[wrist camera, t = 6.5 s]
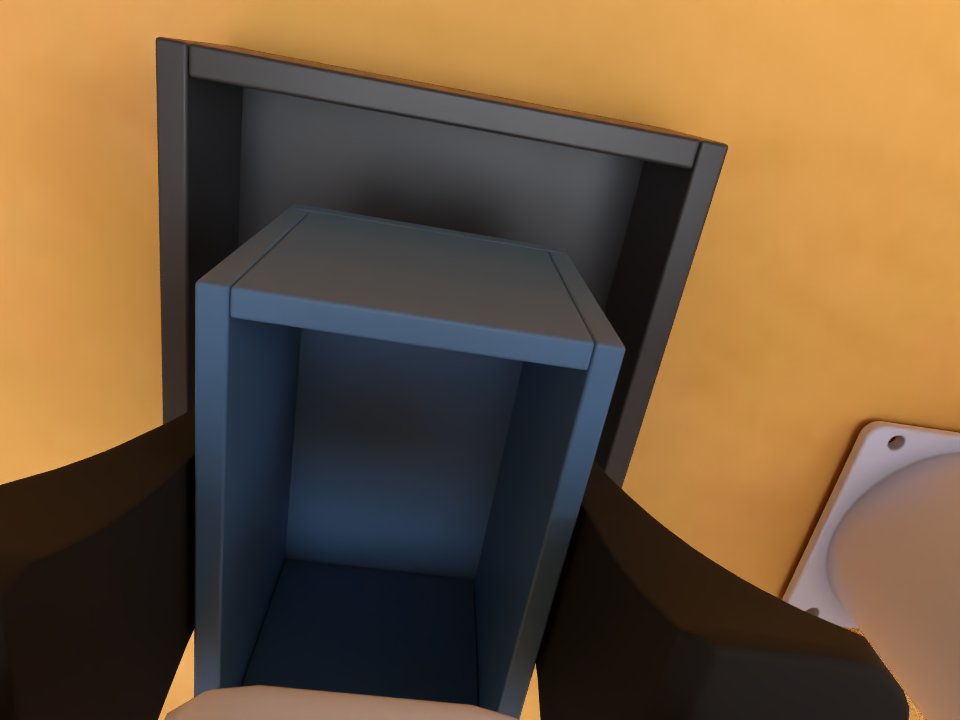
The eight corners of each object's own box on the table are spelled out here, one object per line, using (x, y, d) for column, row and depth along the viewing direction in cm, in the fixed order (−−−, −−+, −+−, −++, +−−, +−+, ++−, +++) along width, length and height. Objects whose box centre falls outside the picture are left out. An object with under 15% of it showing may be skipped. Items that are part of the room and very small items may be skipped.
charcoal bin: (670, 129, 17) (730, 144, 13) (557, 538, 22) (577, 631, 18) (224, 44, 16) (154, 36, 12) (216, 496, 21) (164, 587, 17)
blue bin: (293, 202, 12) (193, 281, 7) (565, 248, 13) (626, 347, 8) (271, 557, 15) (192, 762, 11) (487, 582, 16) (500, 787, 11)
